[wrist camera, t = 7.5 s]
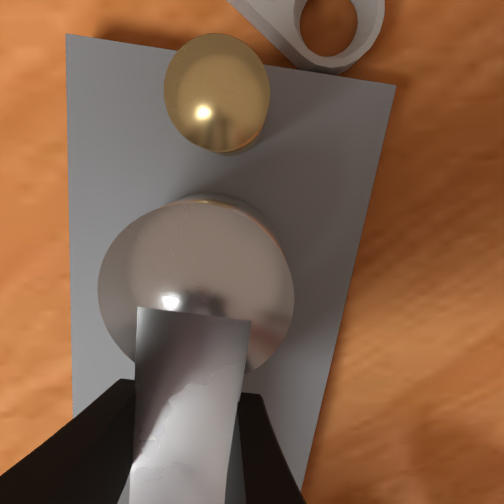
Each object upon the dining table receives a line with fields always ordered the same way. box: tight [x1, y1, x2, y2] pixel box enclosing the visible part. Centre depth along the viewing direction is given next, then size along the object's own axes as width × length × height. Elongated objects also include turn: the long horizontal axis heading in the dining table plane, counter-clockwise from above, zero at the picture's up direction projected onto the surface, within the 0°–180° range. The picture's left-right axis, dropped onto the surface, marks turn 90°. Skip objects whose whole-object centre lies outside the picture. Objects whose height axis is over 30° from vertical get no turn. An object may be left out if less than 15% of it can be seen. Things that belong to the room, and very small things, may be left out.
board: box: [66, 34, 397, 504], centre depth 11 cm, size 19×9×1 cm, turn 172°
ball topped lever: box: [97, 192, 294, 504], centre depth 9 cm, size 12×4×3 cm, turn 172°
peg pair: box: [164, 33, 270, 156], centre depth 9 cm, size 18×2×3 cm, turn 172°
